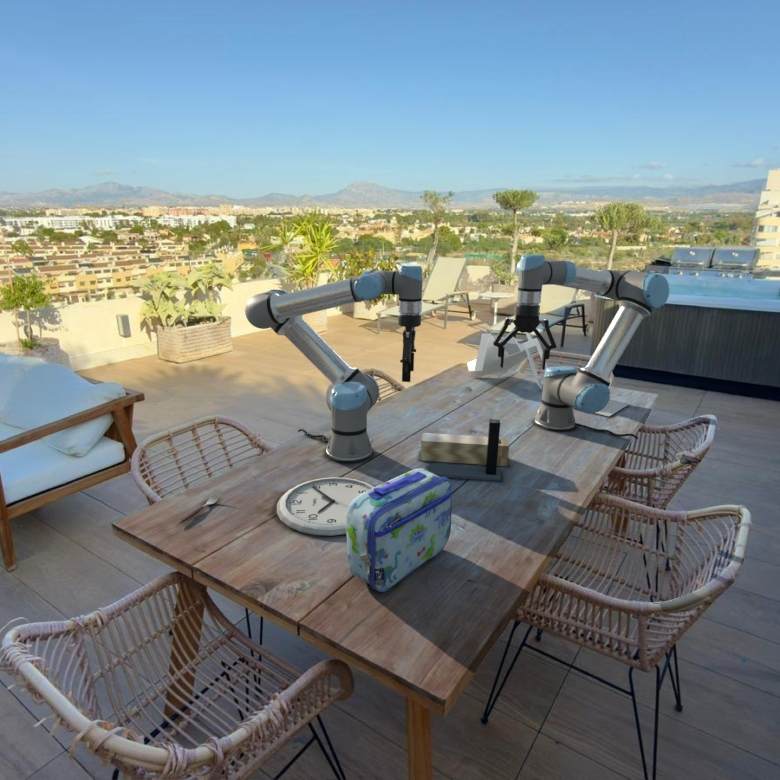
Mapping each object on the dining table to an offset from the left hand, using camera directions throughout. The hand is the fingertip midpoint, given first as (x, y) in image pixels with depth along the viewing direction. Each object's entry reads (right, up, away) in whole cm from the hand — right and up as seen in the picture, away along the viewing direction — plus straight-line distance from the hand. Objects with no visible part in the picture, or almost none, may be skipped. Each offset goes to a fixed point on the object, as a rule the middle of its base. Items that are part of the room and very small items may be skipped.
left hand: (407, 376), depth 177 cm
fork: (-57, -37, -38) cm, 78 cm away
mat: (+17, -31, -15) cm, 38 cm away
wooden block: (+18, -28, -4) cm, 33 cm away
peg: (+25, -30, -16) cm, 42 cm away
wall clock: (-22, -36, -34) cm, 55 cm away
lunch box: (-4, -44, -59) cm, 74 cm away
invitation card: (+85, -12, +49) cm, 99 cm away
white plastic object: (+51, -2, +81) cm, 95 cm away
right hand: (+38, +3, -2) cm, 38 cm away
